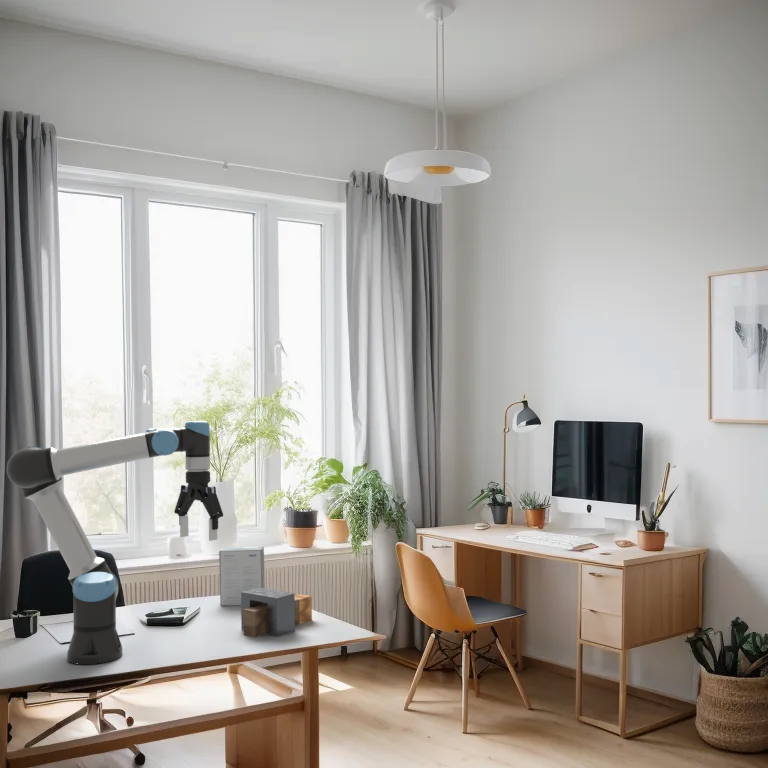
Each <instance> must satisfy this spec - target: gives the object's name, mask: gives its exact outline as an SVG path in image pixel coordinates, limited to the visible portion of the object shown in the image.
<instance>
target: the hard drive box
mask: <svg viewBox="0 0 768 768" xmlns="http://www.w3.org/2000/svg"><path fill="white" fill-rule="evenodd" d="M264 548H265V547H264V546H243V547H242V546H241V547H239V546H238V547H223V548H221V549H220V550H219V552H218V553H219V555H218V556H219V559H218V560H219V596H220V597H219V599H220V602H219V603H220V606H241V592H243V591H247V590H251V589H255V588H265V589H266V587H265V579H266V578H265V552H264V551H265V549H264Z"/></svg>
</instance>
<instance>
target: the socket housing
mask: <svg viewBox="0 0 768 768" xmlns="http://www.w3.org/2000/svg"><path fill="white" fill-rule="evenodd" d="M294 595H295V593H294V592H288V591H282V590H278V589H277V590H276V589H270V588H266V587H265V588H255V589H251V590H247V591H243V592H241V605H240V615H241V617H240V618H241V619H240V620H241V623H240V624H241V627H240V628H241V630H243V631H244V609H247V608H250V607H254V606H258V605H262V604H265V603H268V633H267V636H272V637H277V638H279V637H281V636H284V635H287V634H290V633H294V632H295V631H296V625H295V598H294Z"/></svg>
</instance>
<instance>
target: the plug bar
mask: <svg viewBox="0 0 768 768" xmlns="http://www.w3.org/2000/svg"><path fill="white" fill-rule="evenodd" d="M294 598H295V626H296V625H301V624H304V623H307V622H311V621H313V613H312V612H313V611H312V610H313V609H312V607H313V605H312V604H313V603H312V599H313V598H312V595H305V594H294ZM243 635H244V636H247V637H251V638H252V637H253V638H257V637H261V636H263V635H264V636H265V635H268V603H265V604H262V605H258V606H254V607H250V608H247V609H244V630H243Z"/></svg>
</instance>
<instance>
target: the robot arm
mask: <svg viewBox="0 0 768 768" xmlns="http://www.w3.org/2000/svg"><path fill="white" fill-rule="evenodd" d="M210 431H211V429H210V424H209V422H207V421H205V420H200V421H199V420H198V421H197V420H194V421H190V420H189V421H185V425H184V427H164V428H163V427H160V428H159V427H154V428H148V429H147V430H146V431H145V432H144V433H143V432H142V433H138V434H134V435H133V434H132V435H127V436H122V437H117V438H112V439H106V440H102V441H96V442H91V443H86V444H81V445H76V446H70V447H66V448H60V449H56V448H54V447H47V448H45V447H44V448H43V447H41V446H37V445H36V446H35V445H34V446H27V447H24V448H22V449H19V450H18V451H16V452H14V453H13V454H12V455H11V456H10V458H9V459H8V460H7V464H6V474H7V478H8V479H9V480H10V483H11V482H12V484H13V485H15V486H16V487H19V488H20V491H21V493H22V494H23V496H24V497H25V499H27V500H30V501H32V502H33V503H34V505H35V507H36V508H37V509H36V510H37V511H38V512H39V516H40V517H41V518H42V520H43V522H44V524H45V526H46V528H47V530H48V531H49V533H50V536H51V537H52V539H53V541H54V543H55V545H56V546H57V549H58V550H59V553H60V554H61V557H62V558H63V560H64V561H65V564H66V566H67V568H68V569H69V573H68V577H67V579H68V581H69V583H70V584H71V587H72V593H73V595H72V597H73V599H72V600H73V602H72V603H73V610H72V611H73V633H72V637H71V639H70V643H69V645H68V650H67V652H66V654H67V655H66V656H67V657H66V659H67V660H68V661H69V662H68V661H67V662H68V663H70V662H72V663H71V664H73V663H78V664H77V665H81V664H89V665H98V664H97V663H99V664H104V663H110V662H112V661H115V660H118V659H120V658H121V657H122V656H123V646H122V642H121V639H120V636H119V634H118V630H117V625H116V624H117V622H116V621H117V617H116V615H117V613H116V609H117V607H116V605H117V604H116V603H117V602H116V601H117V598H118V594H119V591H120V590H119V589H120V585H119V580H118V578H117V576H116V575H115V574H114V572H112V571H111V569H110V567H109V565H108V564H107V562H106V559H105V558H103V557H99V556H97V554H96V552H95V549H94V548H93V546H92V544H91V542H90V540H89V539H88V537H87V535H86V533H85V531H84V529H83V527H82V525H81V523H80V521H79V519H78V518H77V516H76V514H75V512H74V510H73V508H72V506H71V505H70V503H69V501H68V499H67V496H66V495H65V493H64V491H63V489H62V483H63V481H64V480H63V478H62V476H65V475H71V474H78V473H81V472H86V471H91V470H96V469H101V468H106V467H110V466H115V465H116V466H117V465H120V464H126V463H130V462H135V461H140V460H145V459H150V458H155V457H156V458H157V457H161V456H163V457H165V456H169V455H172V454H174V453H179V452H180V453H182V452H185V464H184V465H185V466H184V467H185V470H187V471H186V472H185V483H186V484H181V485H180V493H179V496H178V499H177V501H176V505H175V507H174V514H177V515H178V519H179V520H178V522H179V537H180V538H185V537H189V514H188V512H189V510H190V509H191V507H192V505H193V504H194V502H195V501H199V502H201V503H202V505H203V507H204V508H205V511H206V512H207V513H208V516H209V518H208V540H209V542H211V541H217V540H218V529H219V519H220V518H223V517H224V513H223V510H222V506H221V504H220V501H219V498H218V495H217V487H216V486H215V485H213V486H209V483H210V482H211V471H210V468H211V455H210V454H211V435H210V433H211V432H210Z"/></svg>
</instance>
